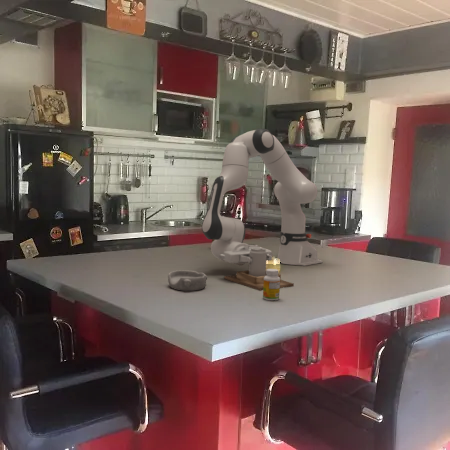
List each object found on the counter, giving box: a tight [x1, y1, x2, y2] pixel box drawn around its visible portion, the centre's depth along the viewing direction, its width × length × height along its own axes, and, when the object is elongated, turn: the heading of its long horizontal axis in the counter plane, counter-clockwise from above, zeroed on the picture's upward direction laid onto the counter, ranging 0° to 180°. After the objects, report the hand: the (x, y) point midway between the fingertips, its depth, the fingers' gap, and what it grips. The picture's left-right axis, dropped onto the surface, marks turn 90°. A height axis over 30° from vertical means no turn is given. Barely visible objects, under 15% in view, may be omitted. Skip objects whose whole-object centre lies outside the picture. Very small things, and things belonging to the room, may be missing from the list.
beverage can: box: [248, 247, 267, 277], centre depth 192 cm, size 6×6×12 cm
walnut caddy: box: [223, 269, 295, 291], centre depth 193 cm, size 16×22×4 cm
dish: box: [167, 269, 208, 292], centre depth 181 cm, size 14×14×5 cm
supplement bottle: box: [262, 268, 281, 301], centre depth 168 cm, size 5×5×10 cm
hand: (260, 259), depth 192 cm, fingers open, 8 cm apart
